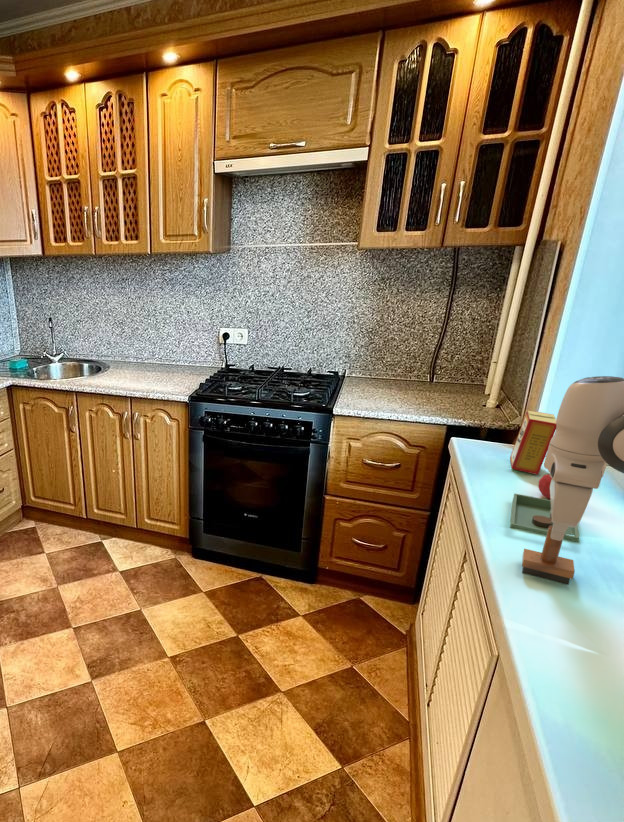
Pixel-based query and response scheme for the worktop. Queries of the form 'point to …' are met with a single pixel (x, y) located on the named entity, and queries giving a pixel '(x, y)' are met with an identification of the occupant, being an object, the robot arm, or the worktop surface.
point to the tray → (531, 507)
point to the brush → (548, 562)
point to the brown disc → (542, 521)
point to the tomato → (545, 485)
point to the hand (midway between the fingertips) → (554, 528)
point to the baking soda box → (533, 442)
